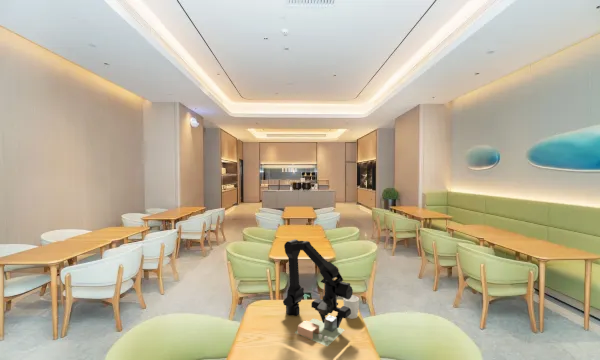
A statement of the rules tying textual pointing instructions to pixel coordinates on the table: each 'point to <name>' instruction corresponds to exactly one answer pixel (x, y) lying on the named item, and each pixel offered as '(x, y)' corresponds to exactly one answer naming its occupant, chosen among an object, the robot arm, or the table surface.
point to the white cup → (352, 306)
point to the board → (324, 333)
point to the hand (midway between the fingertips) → (330, 325)
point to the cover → (308, 329)
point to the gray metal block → (330, 323)
